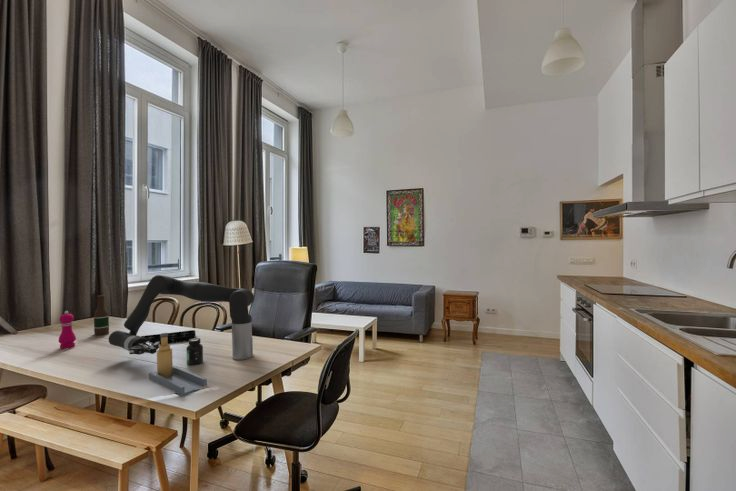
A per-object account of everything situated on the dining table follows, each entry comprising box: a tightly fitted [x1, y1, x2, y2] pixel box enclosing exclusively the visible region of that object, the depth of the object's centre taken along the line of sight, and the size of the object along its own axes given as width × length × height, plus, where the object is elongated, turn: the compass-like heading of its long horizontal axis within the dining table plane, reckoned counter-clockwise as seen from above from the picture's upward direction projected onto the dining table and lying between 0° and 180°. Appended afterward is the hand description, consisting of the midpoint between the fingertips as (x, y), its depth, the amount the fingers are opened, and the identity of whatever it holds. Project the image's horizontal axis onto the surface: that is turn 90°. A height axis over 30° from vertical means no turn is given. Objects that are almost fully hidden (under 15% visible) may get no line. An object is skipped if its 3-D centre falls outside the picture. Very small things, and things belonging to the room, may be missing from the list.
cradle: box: [148, 365, 208, 398], centre depth 143 cm, size 26×10×4 cm, turn 55°
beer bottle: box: [93, 294, 110, 336], centre depth 221 cm, size 8×8×24 cm
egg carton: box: [140, 329, 197, 345], centre depth 204 cm, size 18×30×4 cm, turn 128°
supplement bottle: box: [185, 337, 204, 367], centre depth 164 cm, size 7×7×12 cm
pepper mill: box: [58, 310, 77, 350], centre depth 194 cm, size 7×7×20 cm
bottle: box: [156, 332, 174, 378], centre depth 149 cm, size 6×6×18 cm
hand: (154, 351), depth 154 cm, fingers closed
